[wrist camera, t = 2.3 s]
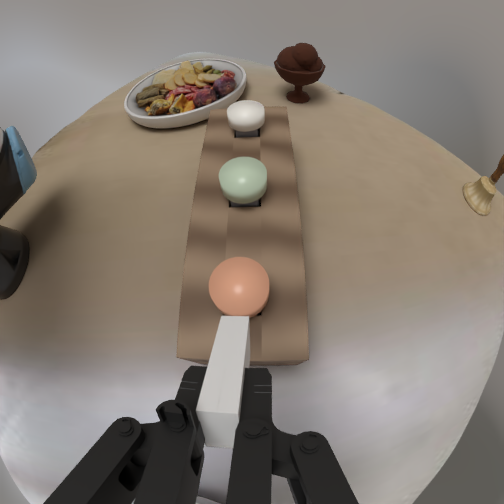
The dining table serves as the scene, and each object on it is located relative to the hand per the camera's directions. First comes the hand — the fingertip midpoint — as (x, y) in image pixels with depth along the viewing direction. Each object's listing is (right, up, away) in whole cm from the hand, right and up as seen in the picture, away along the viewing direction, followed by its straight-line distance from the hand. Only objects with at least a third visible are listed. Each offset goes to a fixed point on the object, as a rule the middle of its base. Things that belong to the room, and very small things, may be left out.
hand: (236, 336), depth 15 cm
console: (+1, +7, +25) cm, 26 cm away
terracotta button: (0, -1, +13) cm, 13 cm away
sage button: (0, +10, +18) cm, 21 cm away
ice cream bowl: (+12, +41, +41) cm, 59 cm away
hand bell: (+48, +16, +27) cm, 57 cm away
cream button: (0, +21, +24) cm, 32 cm away
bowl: (-15, +43, +44) cm, 63 cm away
